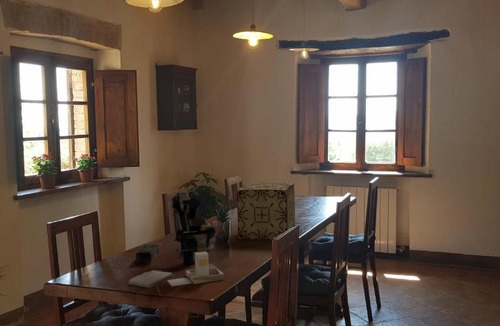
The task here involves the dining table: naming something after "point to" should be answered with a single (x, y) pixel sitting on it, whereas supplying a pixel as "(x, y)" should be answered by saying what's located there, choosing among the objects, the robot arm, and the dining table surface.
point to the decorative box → (265, 210)
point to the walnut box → (212, 270)
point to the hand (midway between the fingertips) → (198, 249)
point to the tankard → (203, 240)
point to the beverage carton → (147, 254)
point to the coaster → (179, 281)
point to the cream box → (201, 264)
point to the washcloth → (149, 278)
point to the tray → (204, 277)
